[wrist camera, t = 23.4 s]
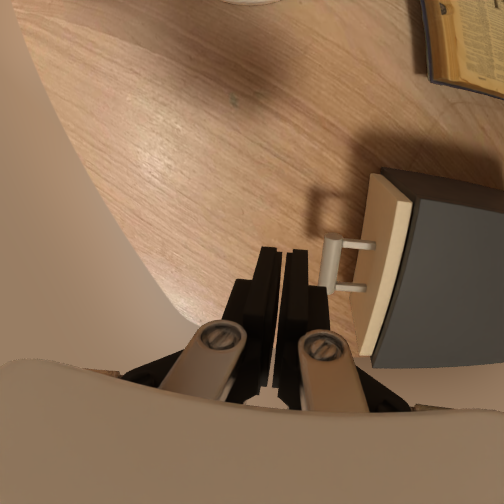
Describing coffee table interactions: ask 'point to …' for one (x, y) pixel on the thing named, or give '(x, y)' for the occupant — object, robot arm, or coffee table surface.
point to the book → (465, 44)
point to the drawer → (371, 259)
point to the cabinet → (446, 277)
